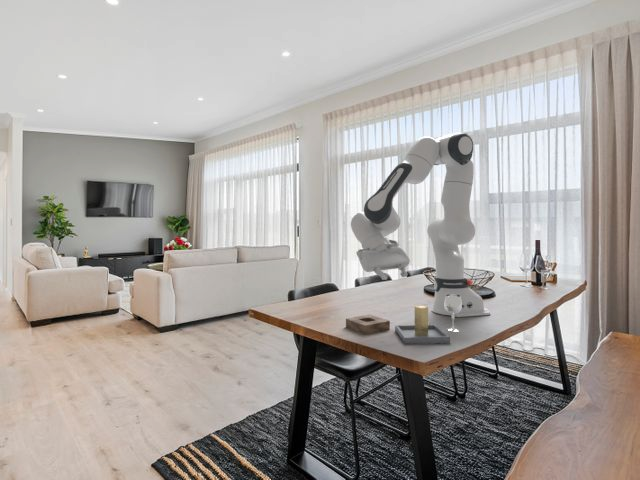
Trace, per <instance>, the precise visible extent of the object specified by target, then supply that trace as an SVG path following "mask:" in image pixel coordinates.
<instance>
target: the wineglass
mask: <svg viewBox="0 0 640 480" xmlns="http://www.w3.org/2000/svg"><path fill="white" fill-rule="evenodd" d="M444 307H445V310H446V311H447V312H448V313H450V314H452V316H451V321H452V322H451V327H447V328H445V330H446V331H447V332H451V333H457V332H458V333H459V332H460V331H461V330H460V328H455V325H454V321H455V317H454V314H457V313H459V312H460V311H461V309H462V301H461V297H460V295H455V294H448V295H446V297H445V302H444Z"/></svg>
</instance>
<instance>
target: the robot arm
mask: <svg viewBox="0 0 640 480" xmlns="http://www.w3.org/2000/svg"><path fill="white" fill-rule="evenodd" d="M473 153H474V142H473V138H472V137H471V136H470V135H469V134H468V133H464V132H455V133H451V134H446V135H443V136H442V137H438V138H434V137H430V136H423V137H419V139H418V140H417V141H416V142H415V143H414V144H413V145H412V146H411V148H410V149H409V151H408V152H407V154H406V155H405V157H404V159H403V160H402V161H401V162H400V163H399V164H397V165H396V166H395V167H394V168H393V169H392V171H391V172H390V173H389V175H388V176H387V177H386V179H385V180H384V182H383V183H382V184H381V186H380V187H379V188H378V190H377V191H376V192H374V194H373V195H371V196H370V197H369V198H368V199H367V200H366V201H365V204H364V205H363V211H359V212H358V213H356V214H355V215H354V216H353V217H351V219H350V220H351V222H350V228H351V230H352V233H353V235H354V237H355V239H356V240H357V241H358V242H359V243H360V244H361V248H359V249H357V250H356V252H355V253H356V256H357V257H358V261H359V262H360V265H361V267H362V269H363V270H364V272H366V273H371V272H374V273H375V274H376V275H377V276H379V277H380V278H381V280H382V281H384V280H388V277H389V276H388V275H387V273H386V272H384V271H386V270H387V271H388V270H394V269H395V270H397V269H398V270H399V271H400V276H401V277H402V278H406V277H407V276H408V274H409V273H408V272H407V271H406V269H407V266H408V265H410V262H411V260H410V258H409V256H408V254H407V253H406V251H405V250H404V249H403V248H402V247H401V246H400V243H399V241H397V240H393V239H390V238H387V237H386V236H389V235H391V234H392V233H394V232H396V231H397V230H398V228H399V227H400V224H401V218H400V216H399V214H398V212H397V211H396V210H395V208H394V206H393V201H394V198H395V197H396V195H397V194H398V192H399V191H400V190H401V188H402V187H403V186H404V185H405V184H406V183H407V184H410V185H418V184H421V183H423V182H424V181H425V180H426V179H427V177H428V176H429V174H430V173H431V171H432V169H433V168H434V166H439V165H444V166H445V169H446V172H445V176H444V181H443V186H442V191H441V192H442V193H441V198H440V202H441V204H442V206H443V217H439V218H436V219H434V220H432V221H431V222H430V223H429V224H428V226H427V230H426V231H427V235H428V237H429V239H430V241H431V245H432V249H433V252H434V259H435V277H434V280H433V281H434V282H433V284H434V285H433V288H434V298H433V299H434V300H433V303H432V307H431V311H432V312H433V313H435V314H439V315H443V316H450V317H452V314H450V313H448V312H447V311H446V310H445V307H444V302H445V297H446V295H448V294H455V295H460V297H461V301H462V309H461V311H460V312H459V313H457V314H454V318H462V317H463V318H464V317H477V316H479V317H480V316H488V315H491V310H489V309H488V308H486V307H485V305H484V299H483V298H482V296H481V295H480V294H478V293H477V292H476V291H474V290H472V288H471V287H469V286H472V285H473V284H474V282H473V280H471V279H467V278H465V259H464V256H463V255H462V254H461V252H460V248H459V246H461V245H465V244H468V243H470V242H471V241H472V240H473V239H474V237H475V236H476V227H475V225H474V222H472V219H471V213H470V211H471V210H470V201H471V195H472V190H473V185H474V183H473V182H474V163H473V161H472V158H473Z"/></svg>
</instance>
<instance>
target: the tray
mask: <svg viewBox="0 0 640 480" xmlns="http://www.w3.org/2000/svg"><path fill="white" fill-rule="evenodd" d="M394 328H395V329H394V331H395V333H396V334H397V336H398V337H399V338H400V340H401V341H402V343H403V344H404V345H423V344H424V345H430V344H434V345H436V344H435V343H441V344H451V337H450V335H448V334H447V333H446V331H444V330H442V329H441V328H440V327H439V326H438V325H437V324H428V335H425V336H419V335H416V334H415V324H395V326H394ZM429 343H430V344H429Z"/></svg>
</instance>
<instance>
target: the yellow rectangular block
mask: <svg viewBox="0 0 640 480" xmlns="http://www.w3.org/2000/svg"><path fill="white" fill-rule="evenodd" d="M414 325H415V334H416V335H419V336H425V335H428V325H429V307H428V306H425V305H418V306H417V305H416V306H414Z"/></svg>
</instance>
